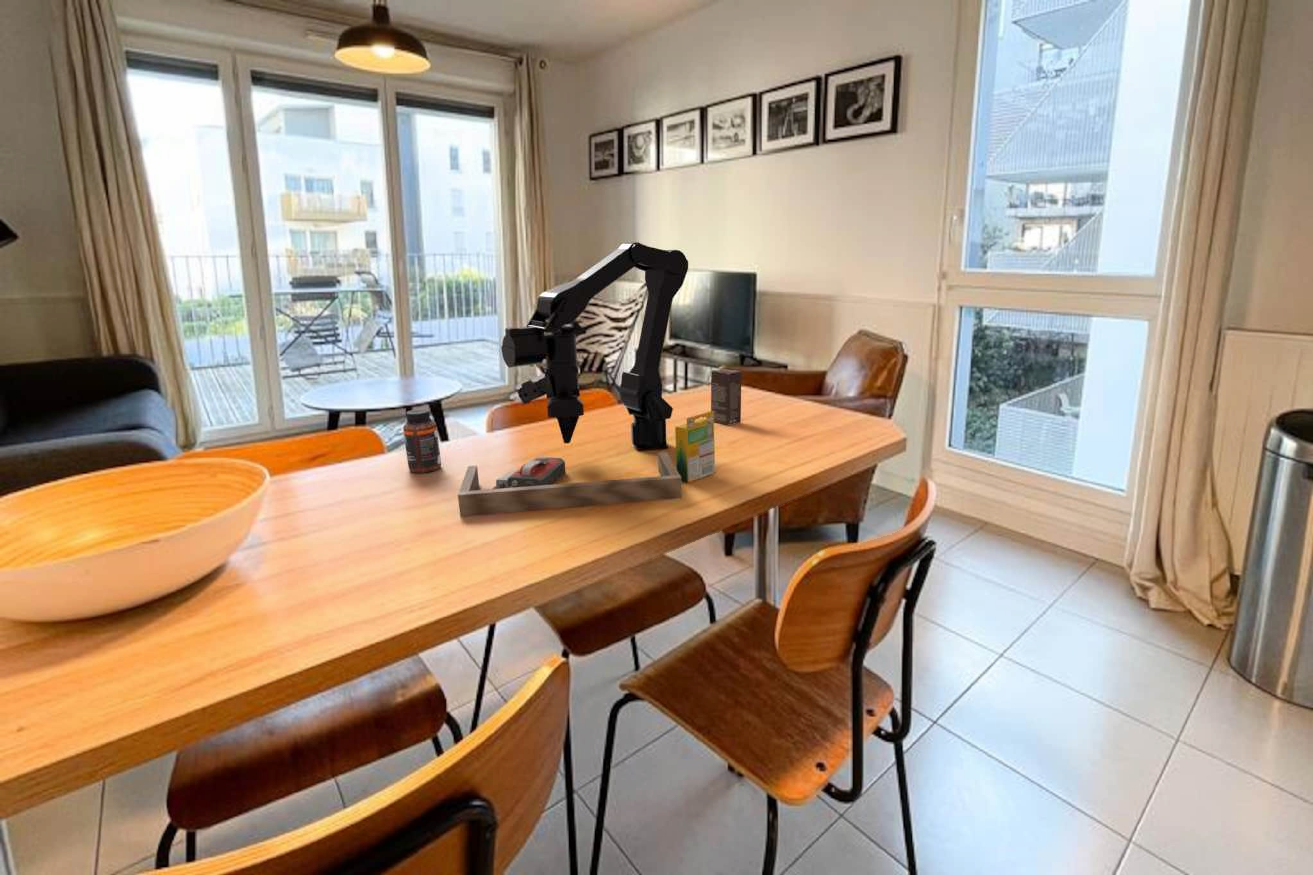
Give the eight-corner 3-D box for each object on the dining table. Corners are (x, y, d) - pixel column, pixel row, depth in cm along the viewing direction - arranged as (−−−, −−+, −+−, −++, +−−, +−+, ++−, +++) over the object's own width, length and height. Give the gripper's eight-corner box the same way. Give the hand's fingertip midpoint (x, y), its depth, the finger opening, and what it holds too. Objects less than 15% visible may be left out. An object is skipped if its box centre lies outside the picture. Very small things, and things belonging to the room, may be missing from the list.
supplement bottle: (448, 466, 128) (441, 408, 125) (426, 475, 123) (418, 416, 120) (424, 462, 131) (417, 406, 128) (401, 472, 126) (393, 413, 123)
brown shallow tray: (666, 470, 123) (666, 452, 122) (681, 498, 109) (681, 477, 108) (470, 485, 118) (468, 466, 117) (460, 516, 104) (457, 495, 103)
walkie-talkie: (526, 469, 126) (474, 509, 107) (524, 447, 125) (471, 483, 106) (570, 472, 124) (524, 512, 105) (568, 449, 123) (522, 486, 104)
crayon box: (703, 469, 122) (702, 408, 119) (715, 473, 120) (715, 410, 117) (675, 479, 118) (674, 415, 114) (688, 483, 115) (687, 418, 112)
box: (742, 422, 155) (742, 370, 151) (728, 426, 152) (728, 373, 149) (723, 417, 159) (723, 367, 156) (709, 421, 156) (709, 370, 153)
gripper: (518, 355, 130) (524, 433, 134) (514, 372, 112) (522, 460, 116) (575, 352, 131) (580, 429, 136) (581, 368, 114) (586, 456, 118)
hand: (566, 442), depth 126 cm, fingers closed
